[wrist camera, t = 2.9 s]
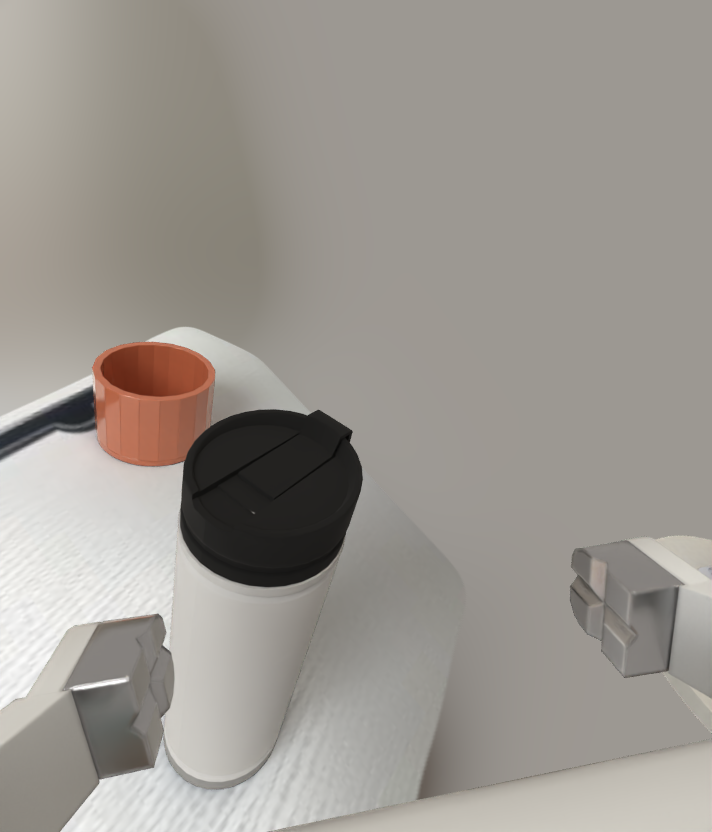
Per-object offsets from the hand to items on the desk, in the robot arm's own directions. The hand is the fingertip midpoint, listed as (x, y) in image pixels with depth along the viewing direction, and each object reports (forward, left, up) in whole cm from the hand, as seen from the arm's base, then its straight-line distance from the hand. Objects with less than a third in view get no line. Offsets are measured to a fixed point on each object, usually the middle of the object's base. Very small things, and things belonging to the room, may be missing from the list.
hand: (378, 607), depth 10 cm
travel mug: (-2, -8, -23) cm, 24 cm away
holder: (-4, -35, -23) cm, 42 cm away
